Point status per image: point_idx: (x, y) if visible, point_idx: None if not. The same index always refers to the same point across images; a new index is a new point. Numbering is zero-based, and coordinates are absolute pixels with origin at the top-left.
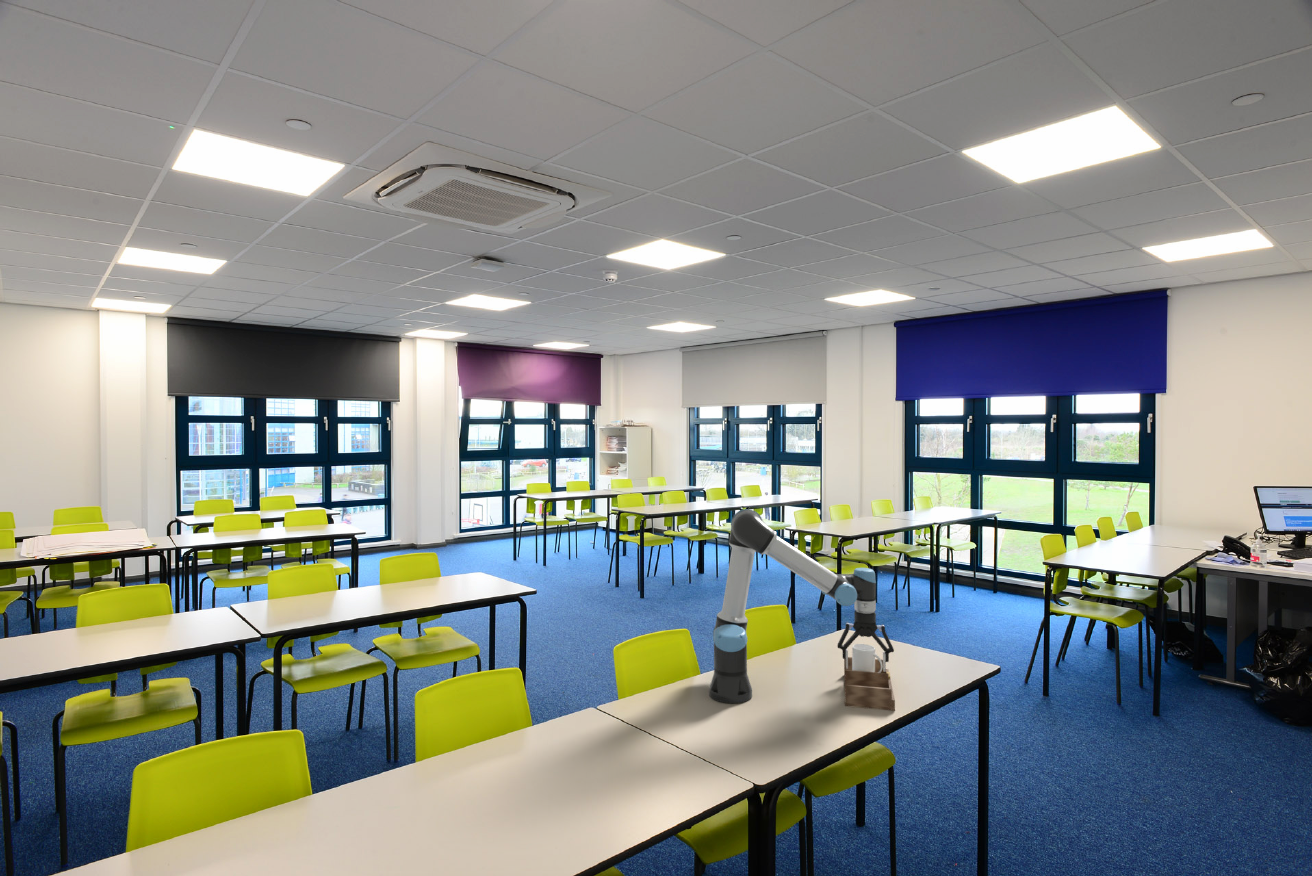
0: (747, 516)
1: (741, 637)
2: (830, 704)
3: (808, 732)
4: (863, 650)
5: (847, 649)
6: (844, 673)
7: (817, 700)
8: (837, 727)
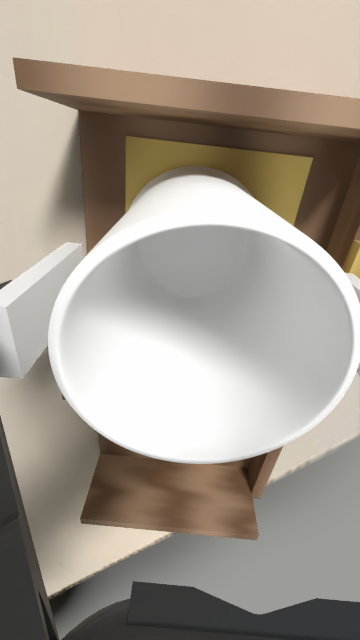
0: None
1: None
2: (57, 443)
3: None
4: (178, 462)
5: (7, 328)
6: (80, 122)
7: (11, 423)
8: (89, 528)
